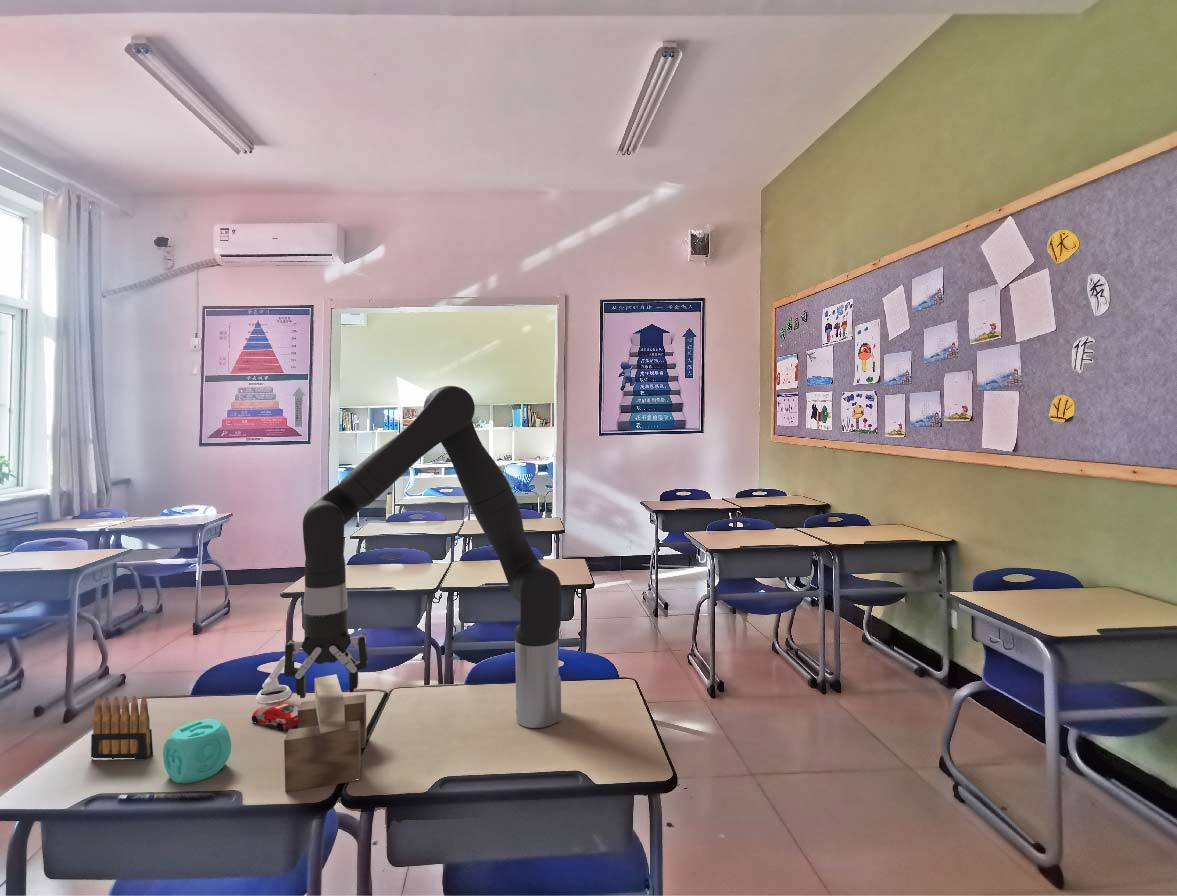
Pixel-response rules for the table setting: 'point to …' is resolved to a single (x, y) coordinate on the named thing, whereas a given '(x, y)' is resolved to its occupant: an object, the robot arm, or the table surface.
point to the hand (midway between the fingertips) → (327, 693)
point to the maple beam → (329, 704)
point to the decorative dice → (196, 751)
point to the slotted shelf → (325, 747)
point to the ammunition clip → (121, 730)
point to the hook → (274, 685)
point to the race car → (277, 716)
